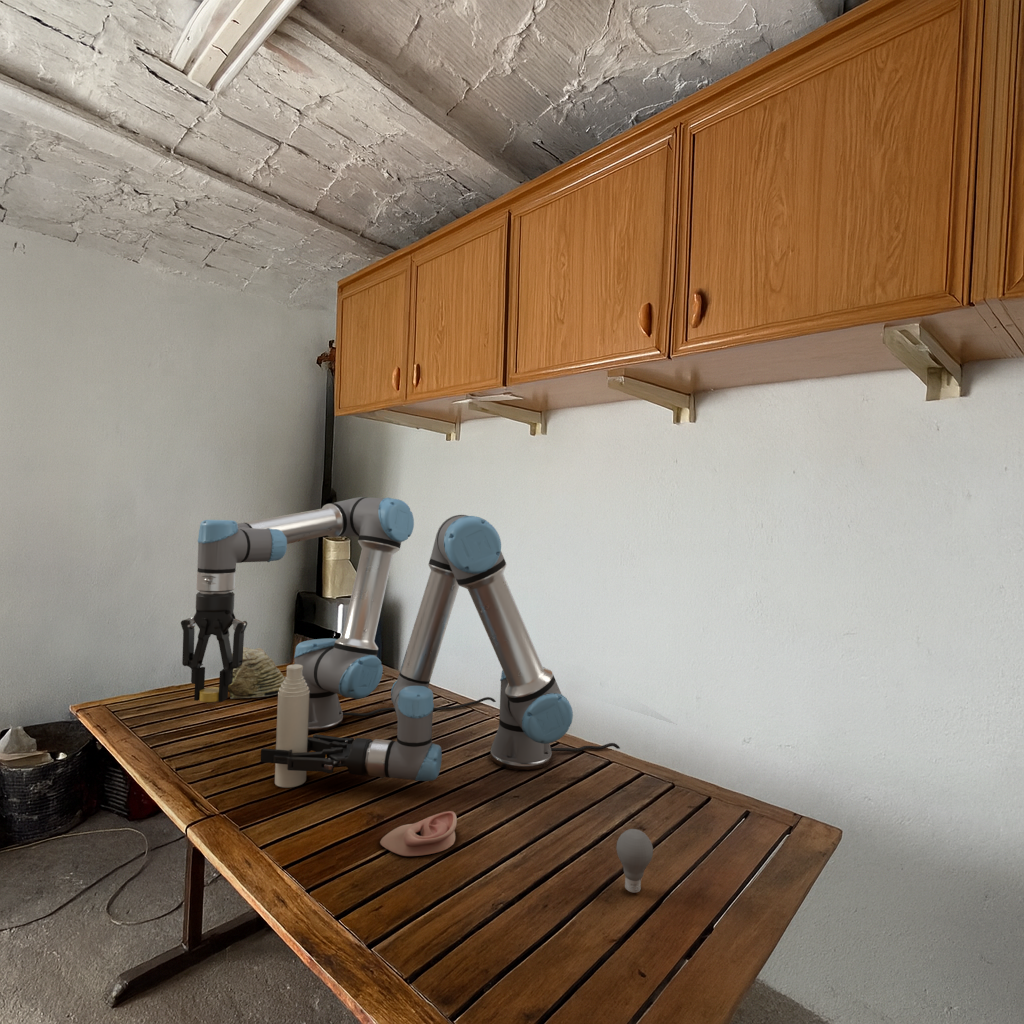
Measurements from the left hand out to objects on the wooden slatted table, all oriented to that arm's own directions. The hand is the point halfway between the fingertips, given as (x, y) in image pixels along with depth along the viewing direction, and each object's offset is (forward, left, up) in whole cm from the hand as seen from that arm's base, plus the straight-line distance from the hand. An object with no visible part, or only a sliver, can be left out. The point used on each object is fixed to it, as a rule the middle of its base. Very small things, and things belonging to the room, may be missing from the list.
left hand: (211, 699), depth 137 cm
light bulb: (-29, +87, -19) cm, 93 cm away
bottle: (-13, +11, -19) cm, 25 cm away
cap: (0, 0, +2) cm, 2 cm away
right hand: (-10, +7, -12) cm, 17 cm away
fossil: (-38, -50, -19) cm, 66 cm away
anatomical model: (-16, +50, -19) cm, 55 cm away
